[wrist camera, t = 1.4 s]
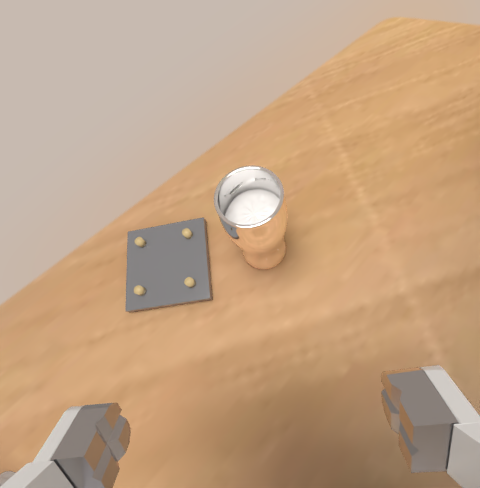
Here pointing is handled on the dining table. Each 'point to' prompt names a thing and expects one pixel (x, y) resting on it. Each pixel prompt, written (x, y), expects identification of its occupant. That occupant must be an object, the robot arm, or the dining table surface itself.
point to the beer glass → (254, 214)
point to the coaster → (168, 266)
